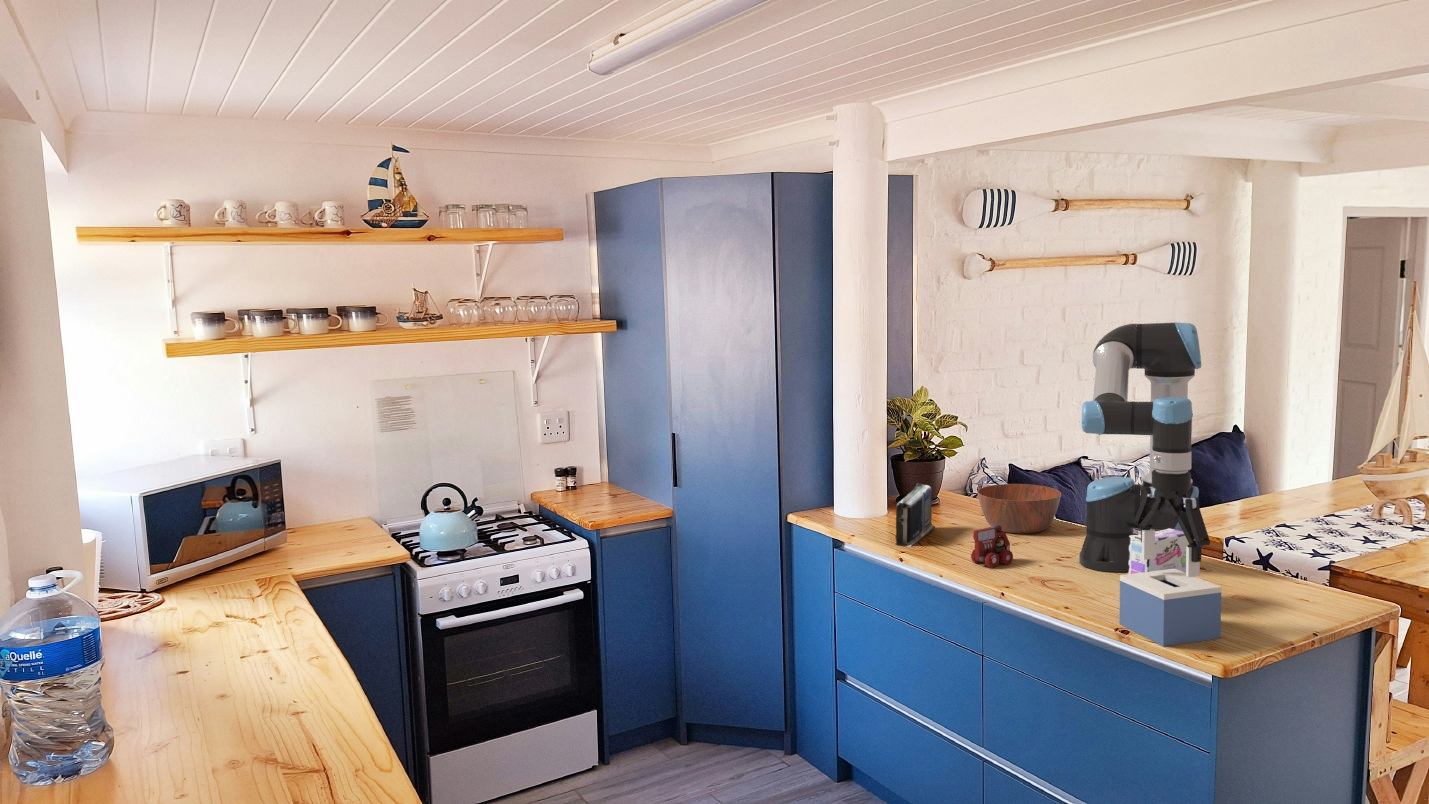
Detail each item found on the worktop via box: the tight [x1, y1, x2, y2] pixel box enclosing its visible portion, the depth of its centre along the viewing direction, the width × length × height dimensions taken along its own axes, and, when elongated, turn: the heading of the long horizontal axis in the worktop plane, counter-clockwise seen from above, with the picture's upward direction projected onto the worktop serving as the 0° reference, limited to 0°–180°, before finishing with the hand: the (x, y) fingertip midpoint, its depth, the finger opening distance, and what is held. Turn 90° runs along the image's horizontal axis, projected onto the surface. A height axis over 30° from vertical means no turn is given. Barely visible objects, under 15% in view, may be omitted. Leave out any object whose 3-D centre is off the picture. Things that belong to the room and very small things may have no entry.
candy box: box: [1127, 528, 1189, 574], centre depth 221 cm, size 14×6×16 cm, turn 114°
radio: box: [894, 483, 936, 549], centre depth 285 cm, size 23×9×15 cm, turn 143°
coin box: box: [1119, 569, 1222, 647], centre depth 202 cm, size 14×14×11 cm
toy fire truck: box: [970, 525, 1014, 569], centre depth 256 cm, size 7×12×10 cm, turn 118°
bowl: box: [976, 483, 1062, 535], centre depth 292 cm, size 25×25×11 cm
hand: (1169, 567), depth 201 cm, fingers open, 13 cm apart
